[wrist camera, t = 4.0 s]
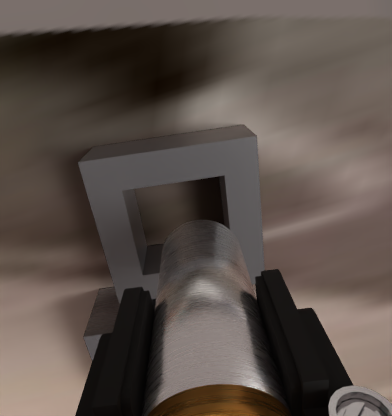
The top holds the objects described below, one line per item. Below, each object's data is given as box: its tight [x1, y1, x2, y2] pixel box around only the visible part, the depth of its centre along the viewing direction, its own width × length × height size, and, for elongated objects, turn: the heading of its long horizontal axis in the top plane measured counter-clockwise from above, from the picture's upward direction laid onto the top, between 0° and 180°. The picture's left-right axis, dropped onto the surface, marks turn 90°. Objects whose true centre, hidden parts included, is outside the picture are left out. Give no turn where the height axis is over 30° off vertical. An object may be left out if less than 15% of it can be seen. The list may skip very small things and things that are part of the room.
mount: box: [78, 125, 265, 304], centre depth 17 cm, size 8×8×3 cm
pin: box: [142, 220, 292, 416], centre depth 10 cm, size 3×3×9 cm
